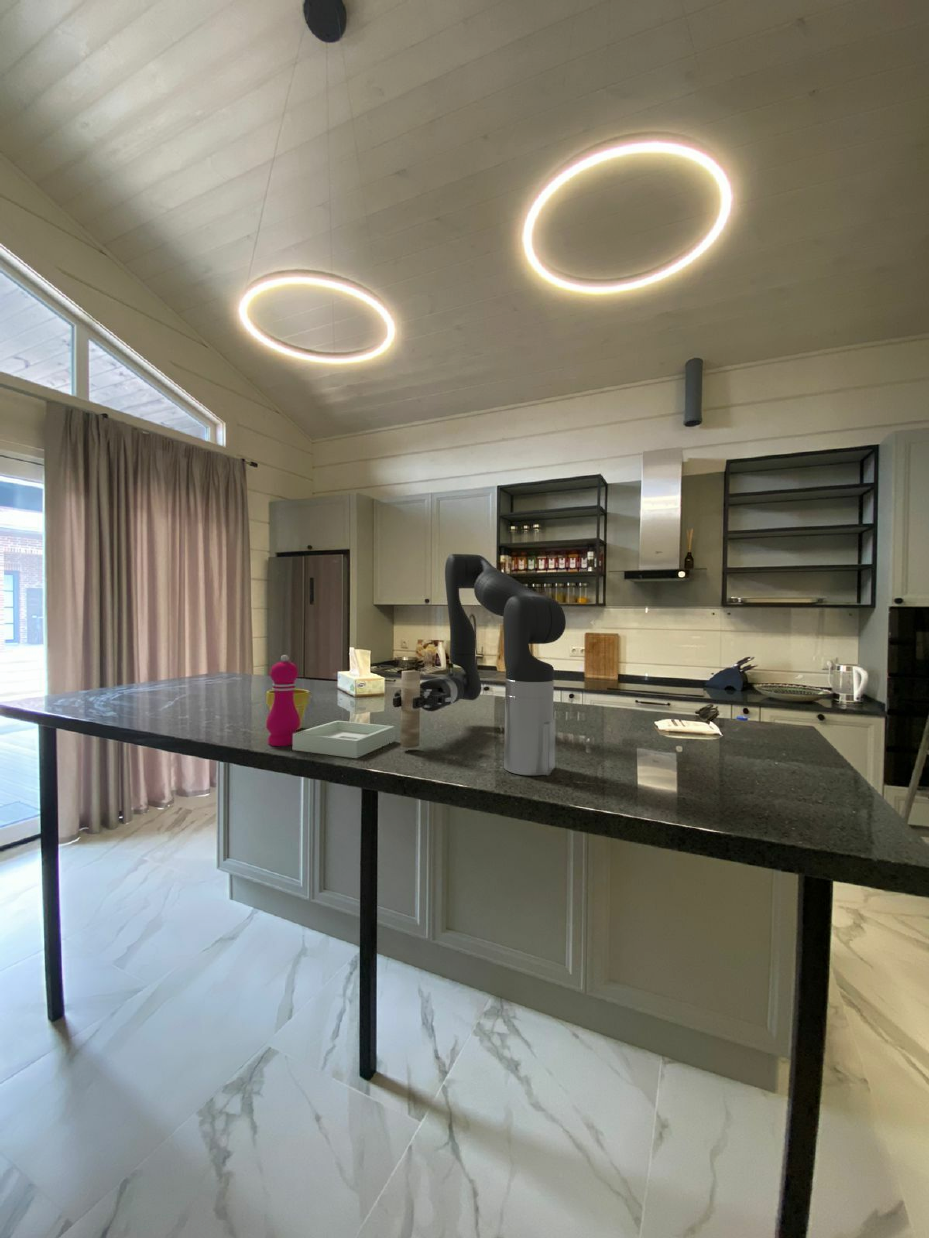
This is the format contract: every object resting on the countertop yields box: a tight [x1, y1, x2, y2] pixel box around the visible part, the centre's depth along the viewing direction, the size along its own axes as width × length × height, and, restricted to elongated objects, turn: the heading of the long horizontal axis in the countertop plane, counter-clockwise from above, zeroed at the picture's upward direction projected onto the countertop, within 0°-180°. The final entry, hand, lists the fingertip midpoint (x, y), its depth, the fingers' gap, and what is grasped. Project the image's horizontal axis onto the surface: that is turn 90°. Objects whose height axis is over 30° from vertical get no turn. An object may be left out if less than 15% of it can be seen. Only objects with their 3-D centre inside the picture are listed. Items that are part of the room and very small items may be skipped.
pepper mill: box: [265, 654, 300, 747], centre depth 113 cm, size 7×7×20 cm
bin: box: [292, 720, 396, 759], centre depth 111 cm, size 16×16×4 cm
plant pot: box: [265, 688, 310, 731], centre depth 127 cm, size 10×10×10 cm
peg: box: [400, 670, 421, 749], centre depth 108 cm, size 4×4×16 cm
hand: (404, 703), depth 105 cm, fingers closed on peg, 4 cm apart
